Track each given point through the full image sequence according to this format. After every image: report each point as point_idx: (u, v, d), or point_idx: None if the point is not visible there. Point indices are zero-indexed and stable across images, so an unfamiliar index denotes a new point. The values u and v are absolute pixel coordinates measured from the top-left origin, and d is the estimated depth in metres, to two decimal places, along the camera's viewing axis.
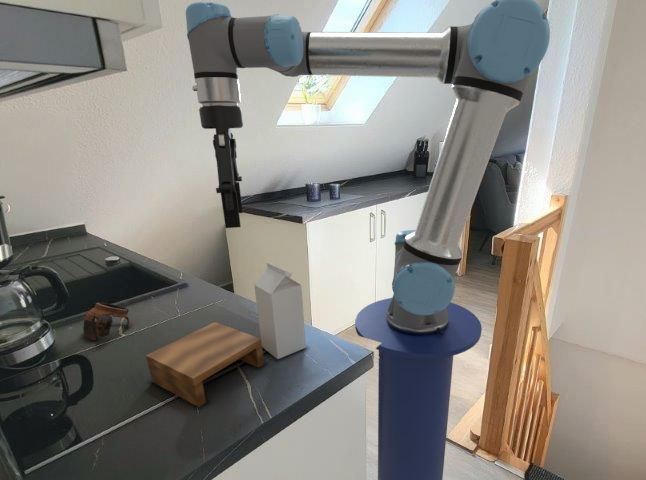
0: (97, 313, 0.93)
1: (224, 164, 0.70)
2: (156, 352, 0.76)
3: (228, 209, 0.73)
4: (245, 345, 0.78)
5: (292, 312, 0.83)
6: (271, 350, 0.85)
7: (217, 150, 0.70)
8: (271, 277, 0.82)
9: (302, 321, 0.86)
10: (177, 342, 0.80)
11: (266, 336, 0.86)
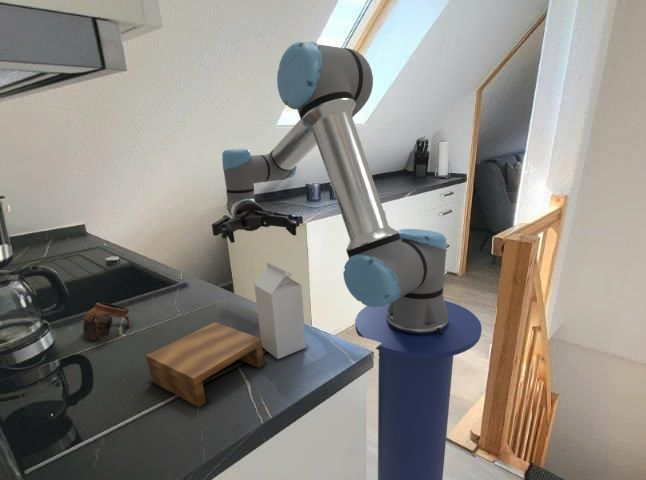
0: (97, 313, 0.93)
1: None
2: (156, 352, 0.76)
3: (223, 234, 0.89)
4: (245, 345, 0.78)
5: (292, 312, 0.83)
6: (271, 350, 0.85)
7: None
8: (271, 277, 0.82)
9: (302, 321, 0.86)
10: (177, 342, 0.80)
11: (266, 336, 0.86)
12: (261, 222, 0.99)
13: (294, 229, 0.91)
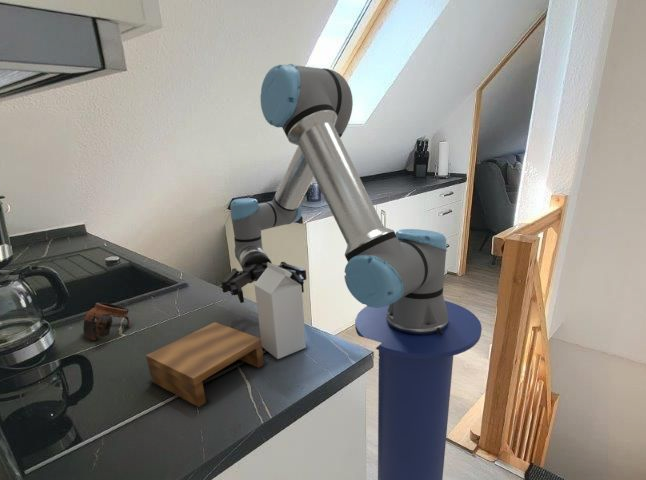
0: (97, 314, 0.93)
1: None
2: (156, 352, 0.76)
3: (232, 293, 0.91)
4: (245, 345, 0.78)
5: (292, 312, 0.83)
6: (271, 350, 0.85)
7: None
8: (271, 277, 0.82)
9: (302, 321, 0.86)
10: (177, 342, 0.80)
11: (266, 336, 0.86)
12: None
13: None
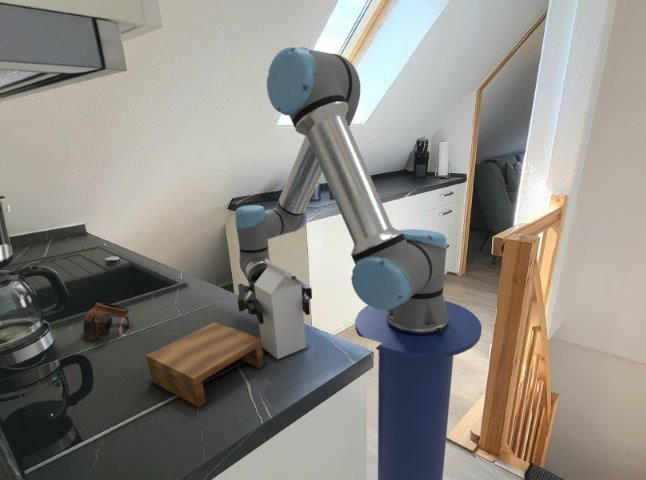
0: (97, 313, 0.93)
1: None
2: (156, 352, 0.76)
3: (250, 312, 0.82)
4: (245, 345, 0.78)
5: (292, 312, 0.83)
6: (271, 349, 0.86)
7: None
8: (271, 277, 0.82)
9: (302, 321, 0.86)
10: (177, 342, 0.80)
11: (266, 336, 0.86)
12: None
13: (307, 308, 0.83)
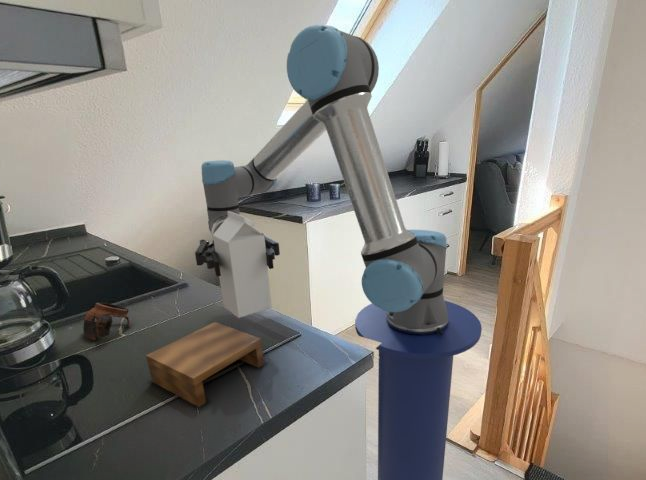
0: (97, 313, 0.93)
1: None
2: (156, 352, 0.76)
3: (208, 265, 0.74)
4: (245, 345, 0.78)
5: (254, 266, 0.75)
6: (232, 308, 0.78)
7: None
8: (230, 226, 0.74)
9: (266, 277, 0.78)
10: (177, 342, 0.80)
11: (227, 293, 0.78)
12: None
13: (271, 261, 0.75)
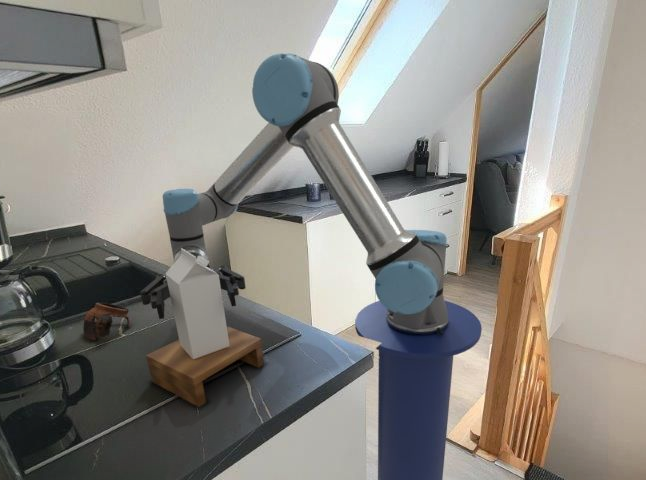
0: (97, 313, 0.93)
1: None
2: (156, 352, 0.76)
3: (152, 306, 0.72)
4: (245, 345, 0.78)
5: (208, 306, 0.72)
6: (187, 348, 0.75)
7: None
8: (182, 265, 0.71)
9: (222, 316, 0.75)
10: (177, 342, 0.80)
11: (181, 333, 0.75)
12: None
13: (233, 299, 0.73)
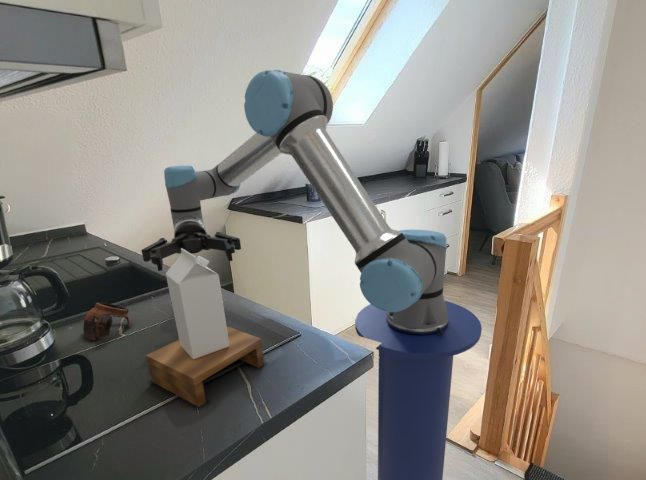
0: (97, 313, 0.93)
1: None
2: (156, 352, 0.76)
3: None
4: (245, 345, 0.78)
5: (208, 306, 0.72)
6: (187, 348, 0.75)
7: None
8: (183, 265, 0.71)
9: (222, 316, 0.75)
10: (177, 342, 0.80)
11: (181, 333, 0.75)
12: (200, 245, 0.93)
13: (230, 254, 0.84)
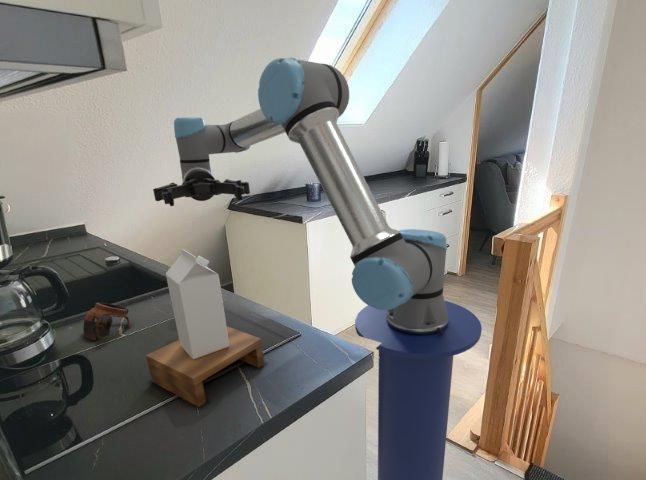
0: (97, 313, 0.93)
1: None
2: (156, 352, 0.76)
3: (163, 198, 0.84)
4: (245, 345, 0.78)
5: (208, 306, 0.72)
6: (187, 348, 0.75)
7: None
8: (183, 265, 0.71)
9: (222, 316, 0.75)
10: (177, 342, 0.80)
11: (181, 333, 0.75)
12: (210, 190, 0.95)
13: (239, 193, 0.86)
